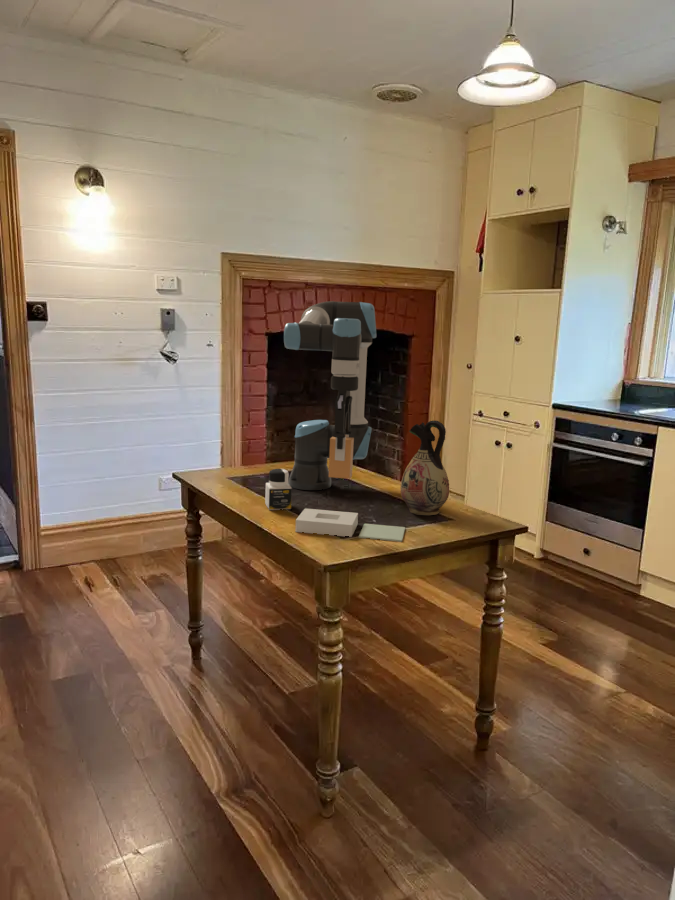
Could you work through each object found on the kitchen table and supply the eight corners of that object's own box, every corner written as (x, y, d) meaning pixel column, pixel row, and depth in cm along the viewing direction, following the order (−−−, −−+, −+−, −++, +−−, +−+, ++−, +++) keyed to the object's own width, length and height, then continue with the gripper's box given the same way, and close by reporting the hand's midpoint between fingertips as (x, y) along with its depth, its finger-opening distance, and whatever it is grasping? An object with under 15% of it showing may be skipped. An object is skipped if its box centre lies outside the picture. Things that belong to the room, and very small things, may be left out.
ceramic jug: (389, 511, 217) (394, 417, 211) (416, 502, 228) (422, 413, 222) (434, 523, 206) (441, 425, 200) (461, 513, 218) (468, 420, 212)
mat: (364, 525, 201) (364, 523, 201) (405, 528, 200) (405, 527, 199) (358, 537, 190) (358, 536, 190) (401, 541, 188) (402, 540, 188)
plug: (331, 474, 196) (332, 436, 194) (352, 475, 195) (353, 437, 193) (328, 477, 192) (330, 438, 190) (349, 478, 191) (351, 440, 189)
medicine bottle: (268, 510, 212) (269, 472, 210) (265, 504, 219) (265, 467, 217) (291, 509, 214) (292, 472, 212) (286, 503, 221) (287, 467, 219)
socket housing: (304, 519, 204) (304, 508, 204) (357, 524, 202) (358, 513, 201) (295, 531, 193) (295, 519, 192) (351, 537, 190) (352, 525, 189)
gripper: (353, 378, 179) (349, 465, 184) (363, 373, 196) (359, 454, 200) (325, 377, 180) (321, 463, 185) (337, 372, 197) (334, 452, 201)
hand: (341, 458), depth 192 cm, fingers closed on plug, 4 cm apart
